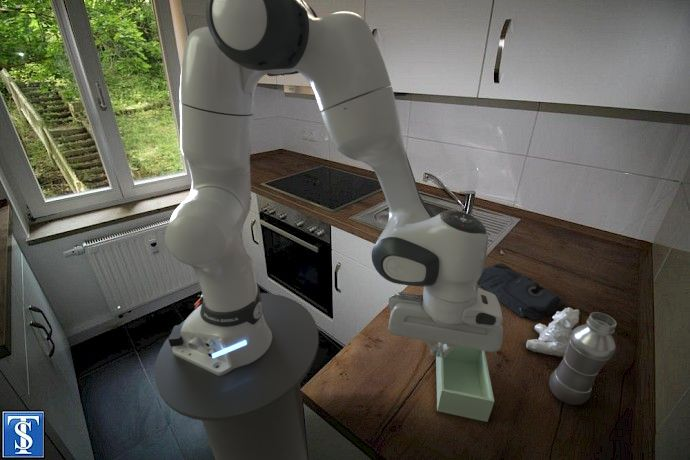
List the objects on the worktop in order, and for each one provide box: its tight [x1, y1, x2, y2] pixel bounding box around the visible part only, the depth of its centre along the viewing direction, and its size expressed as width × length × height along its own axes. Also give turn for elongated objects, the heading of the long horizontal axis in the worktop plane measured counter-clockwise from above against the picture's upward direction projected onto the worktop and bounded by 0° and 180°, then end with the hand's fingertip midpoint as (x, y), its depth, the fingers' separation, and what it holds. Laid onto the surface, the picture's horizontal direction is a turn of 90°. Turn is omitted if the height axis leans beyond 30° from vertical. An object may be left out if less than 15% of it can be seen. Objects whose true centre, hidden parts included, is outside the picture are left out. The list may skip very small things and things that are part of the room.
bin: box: [435, 343, 496, 423], centre depth 63 cm, size 6×13×9 cm
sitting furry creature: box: [525, 306, 580, 358], centre depth 71 cm, size 10×9×12 cm
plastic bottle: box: [548, 311, 617, 406], centre depth 58 cm, size 6×7×20 cm
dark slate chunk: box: [478, 262, 565, 321], centre depth 91 cm, size 15×22×5 cm
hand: (437, 354), depth 62 cm, fingers closed
